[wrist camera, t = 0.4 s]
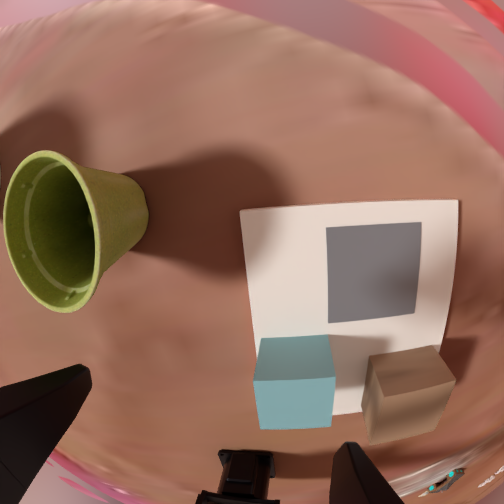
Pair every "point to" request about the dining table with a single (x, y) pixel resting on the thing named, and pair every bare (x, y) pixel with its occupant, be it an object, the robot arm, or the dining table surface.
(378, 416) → the walnut block
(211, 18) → the dining table surface
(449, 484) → the game pieces
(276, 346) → the teal cube
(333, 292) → the board
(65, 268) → the plant pot
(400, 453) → the dining table surface
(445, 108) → the dining table surface
